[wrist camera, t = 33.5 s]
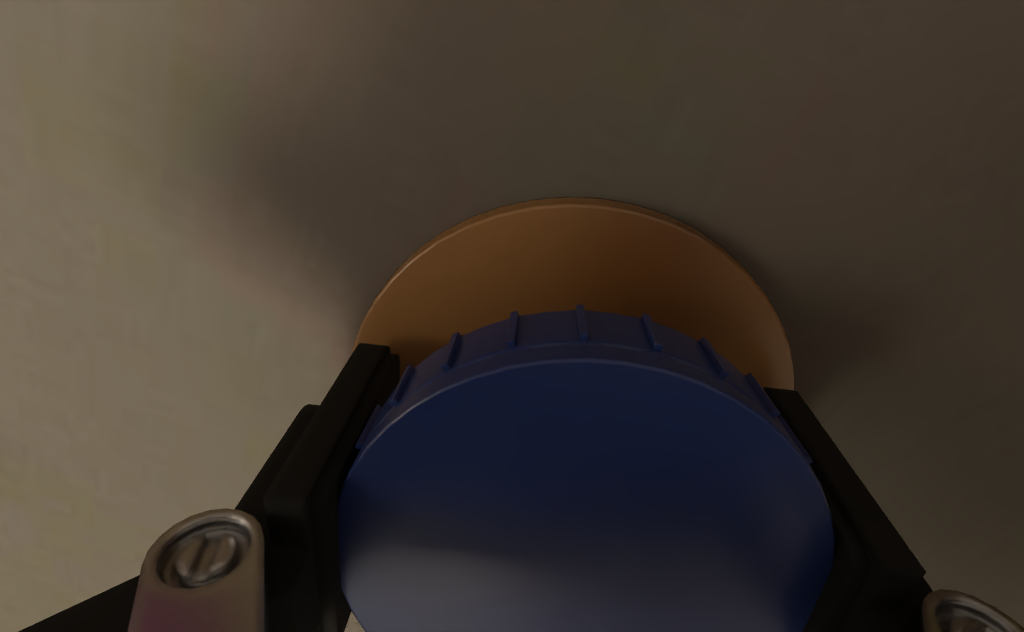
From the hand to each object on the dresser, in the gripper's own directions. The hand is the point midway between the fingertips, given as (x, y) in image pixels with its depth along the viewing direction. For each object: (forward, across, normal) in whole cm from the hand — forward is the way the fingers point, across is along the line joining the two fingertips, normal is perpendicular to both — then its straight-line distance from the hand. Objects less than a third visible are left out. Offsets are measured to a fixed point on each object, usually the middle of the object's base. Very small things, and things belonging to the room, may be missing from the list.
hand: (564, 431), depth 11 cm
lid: (-3, 0, 0) cm, 3 cm away
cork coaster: (+1, 0, 0) cm, 1 cm away
